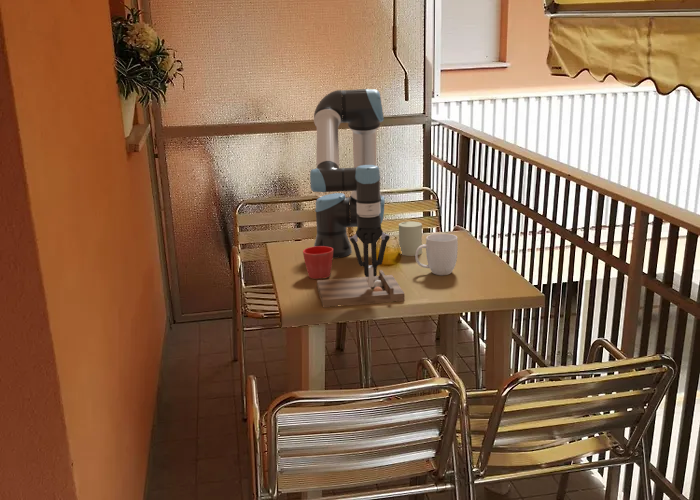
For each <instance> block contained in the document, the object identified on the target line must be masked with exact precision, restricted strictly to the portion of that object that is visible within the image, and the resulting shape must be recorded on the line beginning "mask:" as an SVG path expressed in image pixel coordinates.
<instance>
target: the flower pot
mask: <svg viewBox="0 0 700 500" xmlns="http://www.w3.org/2000/svg"><path fill="white" fill-rule="evenodd" d="M302 254H303V259H304V263H305V268H306V270H307V274H308V277H309V279H313V280H315V279H316V280H322V279H323V280H324V279H327V278H329V277H331V272H332V266H333V259H334V258H333V248H331V247H327V246H315V247H314V246H311V247H307V248H304V249H303V251H302Z"/></svg>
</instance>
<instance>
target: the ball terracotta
mask: <svg viewBox="0 0 700 500" xmlns="http://www.w3.org/2000/svg"><path fill="white" fill-rule="evenodd" d="M372 291H373V292H376V291H384V290H383V288H381V287H375V288H374V287H373V290H372Z"/></svg>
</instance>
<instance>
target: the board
mask: <svg viewBox="0 0 700 500" xmlns="http://www.w3.org/2000/svg"><path fill="white" fill-rule="evenodd" d="M378 272H379V273H378V275H376V276H374V282H375V281H376V280H381V281H382V283H383V287H382V290H383V291H376V292H373V290H372V287H369V286H368V277H365V276H359V277H347V278H335V279H334V278H333V279H323V280H322V279H317V280H316V289H317V291H318V294H319V298H320V301H321V304H322V308H331V307H330V306H335V307H339V306H338V305H341V306H340V307H343V306H342V305H347V306H357V305H369V304H370V305H371V303H372V304H380V303H381V304H383V303H393V302H392V301H396V302H405V301H406V300H405V292H404V291H403V289H402V288H401V286H400V284H399V283H398V281H397V280H396V278H395V277H394V276H393V274H387V275H386V274H385V272H384V271H383V269H380V270H378Z"/></svg>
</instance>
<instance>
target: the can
mask: <svg viewBox="0 0 700 500" xmlns="http://www.w3.org/2000/svg"><path fill="white" fill-rule="evenodd" d="M422 229H423V224H422V222H419V221H413V220H410V221H403V222H400V223H398V246H399V245H400V247H401V251H402V255H401V256H406V257H415V254H416V250H417V248H418V247H419V246H421V245H423V238H422V236H423V231H422ZM422 254H423V248H421V249H420V250H419V252H418V256H420V255H422Z"/></svg>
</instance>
